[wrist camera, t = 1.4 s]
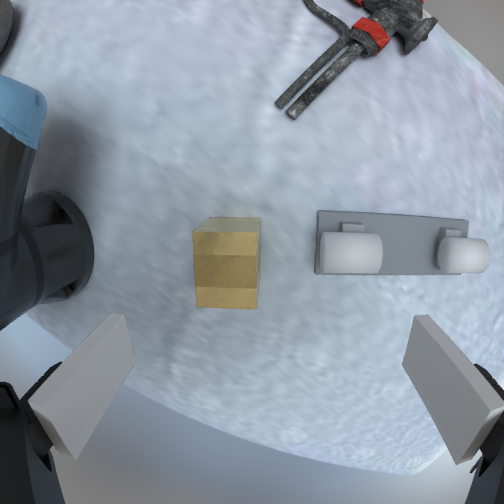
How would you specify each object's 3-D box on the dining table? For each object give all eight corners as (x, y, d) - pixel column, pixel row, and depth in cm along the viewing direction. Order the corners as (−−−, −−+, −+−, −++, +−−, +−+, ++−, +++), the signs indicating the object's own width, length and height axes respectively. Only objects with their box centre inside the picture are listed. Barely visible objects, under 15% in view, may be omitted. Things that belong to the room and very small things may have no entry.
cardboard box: (259, 278, 35) (256, 309, 27) (212, 277, 35) (196, 306, 27) (260, 217, 33) (257, 232, 25) (210, 217, 33) (192, 231, 25)
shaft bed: (314, 271, 34) (323, 293, 28) (317, 210, 32) (329, 219, 26) (456, 272, 33) (483, 289, 27) (464, 219, 31) (494, 230, 25)
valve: (352, -35, 24) (441, 27, 24) (226, 72, 32) (322, 149, 32) (355, -62, 18) (458, 5, 18) (209, 51, 26) (324, 139, 25)
